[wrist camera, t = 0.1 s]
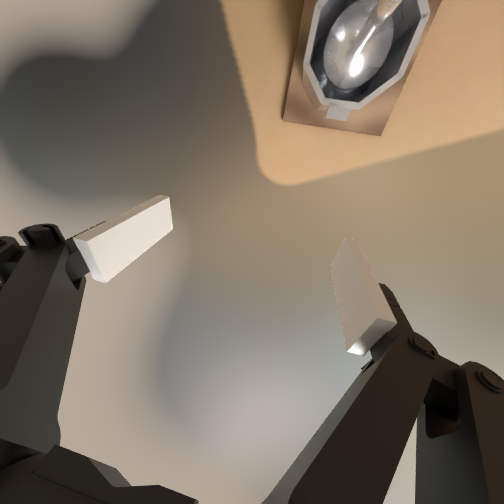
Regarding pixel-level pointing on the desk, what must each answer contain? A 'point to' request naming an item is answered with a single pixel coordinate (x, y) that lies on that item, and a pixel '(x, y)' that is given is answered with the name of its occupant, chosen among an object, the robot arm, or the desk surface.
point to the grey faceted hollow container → (393, 68)
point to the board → (359, 121)
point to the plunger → (359, 42)
